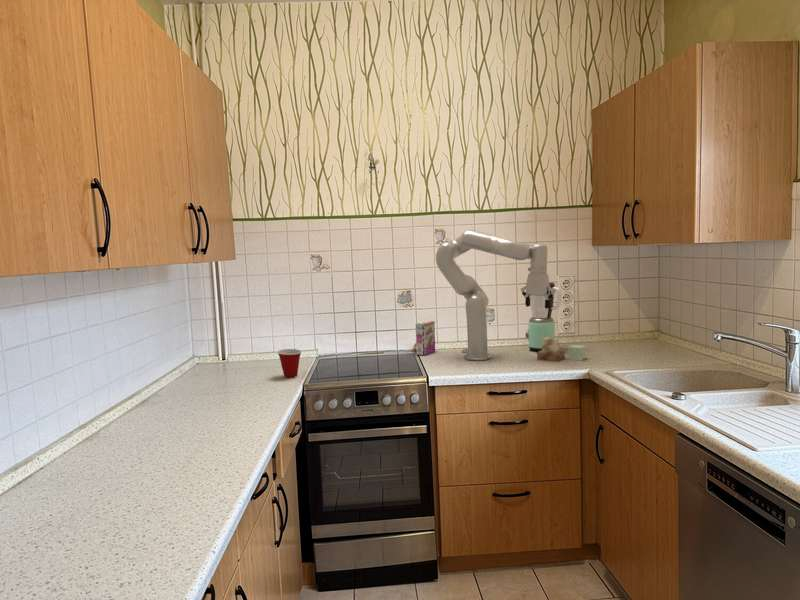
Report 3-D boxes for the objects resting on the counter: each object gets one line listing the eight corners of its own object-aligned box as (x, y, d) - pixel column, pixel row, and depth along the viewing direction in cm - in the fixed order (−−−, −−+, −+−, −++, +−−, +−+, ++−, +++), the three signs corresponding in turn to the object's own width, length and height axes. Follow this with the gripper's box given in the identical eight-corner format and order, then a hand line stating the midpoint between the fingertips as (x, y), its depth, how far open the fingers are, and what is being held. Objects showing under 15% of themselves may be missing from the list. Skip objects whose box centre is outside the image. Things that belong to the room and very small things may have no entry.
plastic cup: (297, 379, 263) (295, 352, 262) (275, 379, 266) (273, 352, 264) (307, 373, 273) (305, 348, 272) (285, 373, 276) (283, 348, 275)
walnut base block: (537, 360, 281) (537, 352, 281) (544, 356, 289) (544, 348, 289) (558, 362, 276) (557, 353, 275) (564, 358, 284) (564, 349, 284)
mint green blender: (520, 350, 304) (519, 282, 300) (532, 346, 314) (531, 280, 310) (555, 354, 292) (554, 283, 288) (567, 349, 302) (566, 280, 298)
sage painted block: (568, 359, 279) (568, 347, 278) (573, 357, 284) (573, 344, 283) (580, 360, 275) (580, 348, 275) (585, 358, 280) (585, 345, 279)
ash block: (542, 351, 282) (542, 339, 281) (547, 349, 286) (547, 337, 286) (554, 352, 278) (554, 340, 277) (559, 350, 283) (559, 338, 282)
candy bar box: (424, 356, 302) (423, 324, 300) (416, 355, 305) (414, 323, 303) (436, 352, 311) (434, 320, 309) (428, 351, 314) (426, 320, 312)
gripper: (517, 270, 280) (517, 306, 282) (552, 272, 269) (551, 309, 271) (525, 269, 286) (524, 304, 288) (559, 271, 275) (558, 308, 277)
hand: (537, 307), depth 280 cm, fingers open, 9 cm apart
